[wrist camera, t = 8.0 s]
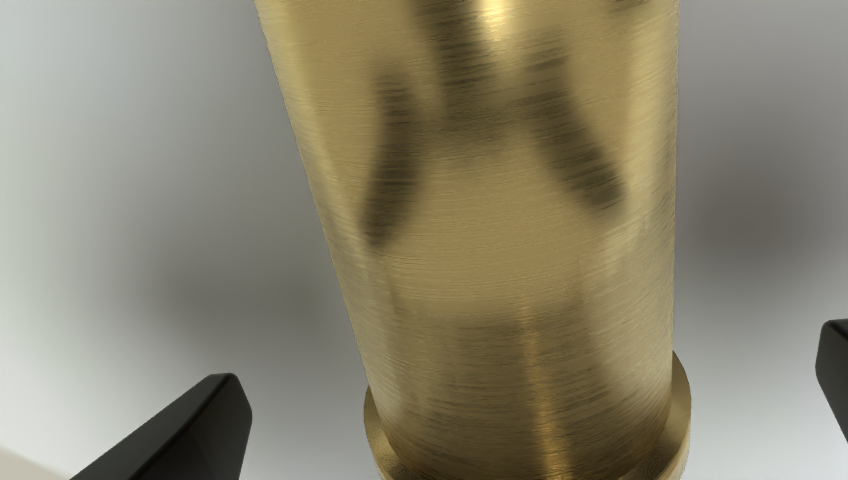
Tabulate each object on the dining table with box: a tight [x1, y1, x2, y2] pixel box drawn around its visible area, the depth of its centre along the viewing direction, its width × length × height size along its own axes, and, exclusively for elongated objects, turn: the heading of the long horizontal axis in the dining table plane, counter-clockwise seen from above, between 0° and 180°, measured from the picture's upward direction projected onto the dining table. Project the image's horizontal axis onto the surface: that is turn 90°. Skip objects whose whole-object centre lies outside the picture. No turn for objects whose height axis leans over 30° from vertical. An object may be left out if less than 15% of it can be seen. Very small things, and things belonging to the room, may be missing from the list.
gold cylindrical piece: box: [254, 0, 691, 480], centre depth 8 cm, size 14×6×6 cm, turn 10°
